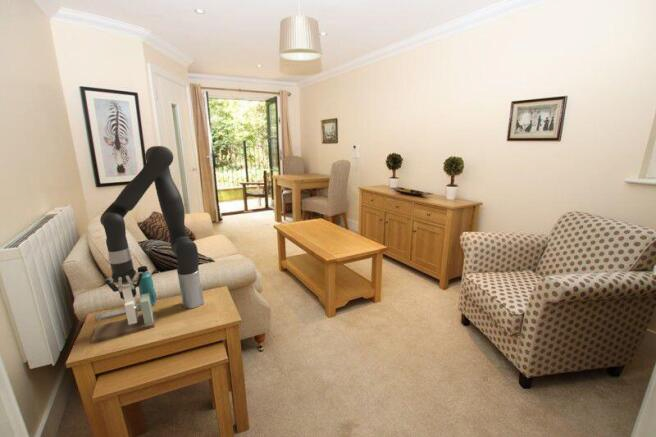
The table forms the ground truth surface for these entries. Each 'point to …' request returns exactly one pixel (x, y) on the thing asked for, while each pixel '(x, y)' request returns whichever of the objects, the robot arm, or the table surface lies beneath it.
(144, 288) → the beverage bottle
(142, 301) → the mount block
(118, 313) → the steel pipe
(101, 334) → the pipe board
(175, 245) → the robot arm
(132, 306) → the white stepped block
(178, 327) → the table surface
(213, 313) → the table surface
